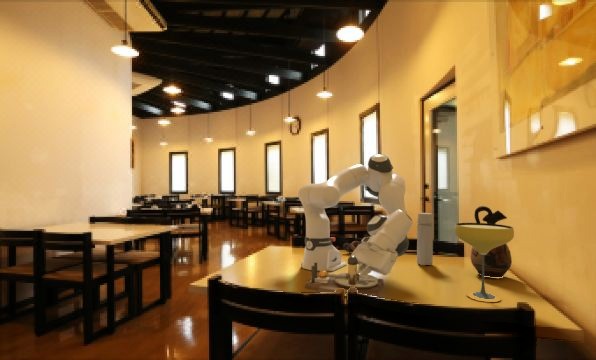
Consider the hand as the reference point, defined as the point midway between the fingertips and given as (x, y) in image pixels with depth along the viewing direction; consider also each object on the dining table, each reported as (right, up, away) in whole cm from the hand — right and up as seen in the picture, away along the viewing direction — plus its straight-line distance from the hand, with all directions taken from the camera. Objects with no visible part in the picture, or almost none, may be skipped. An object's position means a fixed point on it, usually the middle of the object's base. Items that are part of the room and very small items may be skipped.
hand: (358, 276), depth 122 cm
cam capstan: (-3, -4, +7) cm, 8 cm away
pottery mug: (+10, -7, +69) cm, 70 cm away
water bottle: (+41, -7, +46) cm, 63 cm away
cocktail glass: (+43, -7, -2) cm, 44 cm away
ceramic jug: (+61, -7, +26) cm, 67 cm away
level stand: (-4, -6, +8) cm, 11 cm away
